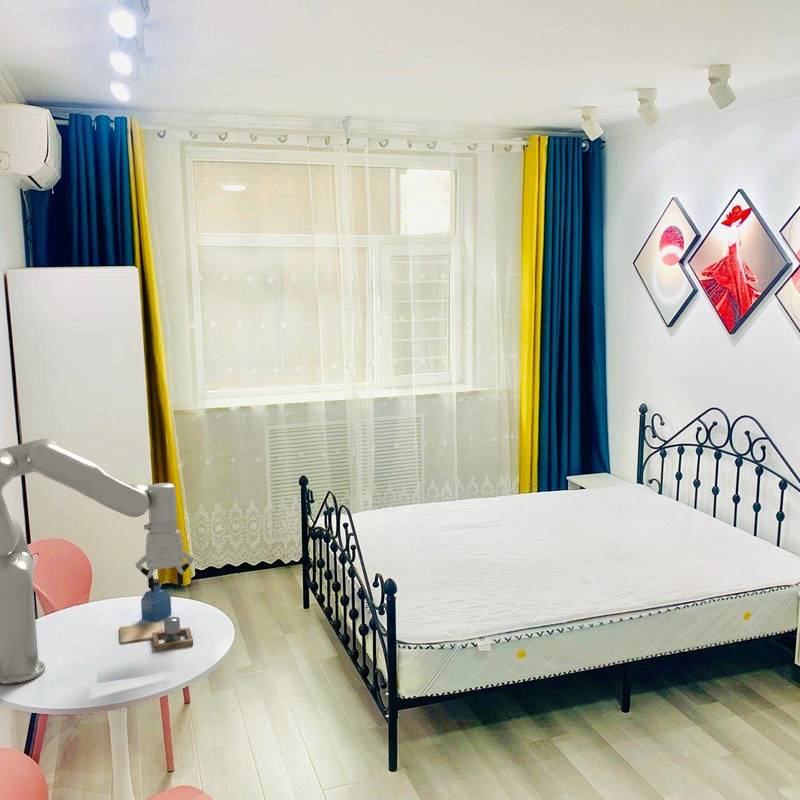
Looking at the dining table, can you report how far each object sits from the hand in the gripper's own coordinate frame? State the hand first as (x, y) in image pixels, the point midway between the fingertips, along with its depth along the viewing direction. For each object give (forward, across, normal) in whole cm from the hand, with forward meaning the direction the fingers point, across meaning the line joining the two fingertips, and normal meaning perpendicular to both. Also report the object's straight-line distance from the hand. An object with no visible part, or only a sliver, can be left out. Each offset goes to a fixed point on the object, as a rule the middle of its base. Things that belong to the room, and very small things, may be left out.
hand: (165, 588), depth 230 cm
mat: (+16, -7, +9) cm, 19 cm away
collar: (+16, +1, -1) cm, 16 cm away
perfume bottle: (+16, -2, +20) cm, 25 cm away
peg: (+16, +1, -1) cm, 16 cm away
